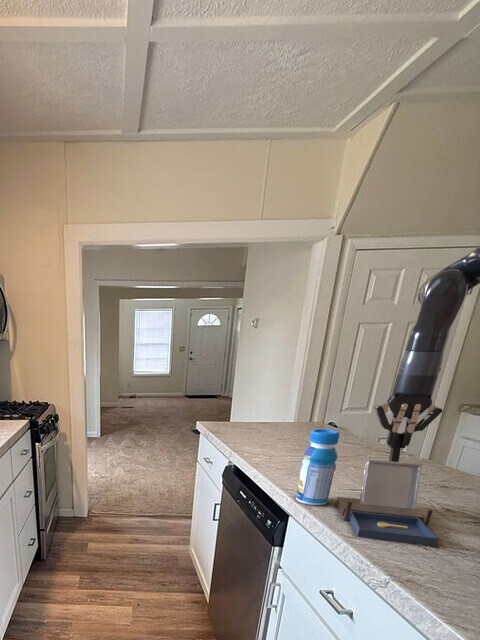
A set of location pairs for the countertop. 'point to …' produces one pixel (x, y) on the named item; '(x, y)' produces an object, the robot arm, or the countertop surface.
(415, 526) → the tray
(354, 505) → the stand
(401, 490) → the grey dustpan
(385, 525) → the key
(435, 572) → the countertop surface
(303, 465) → the beverage bottle
